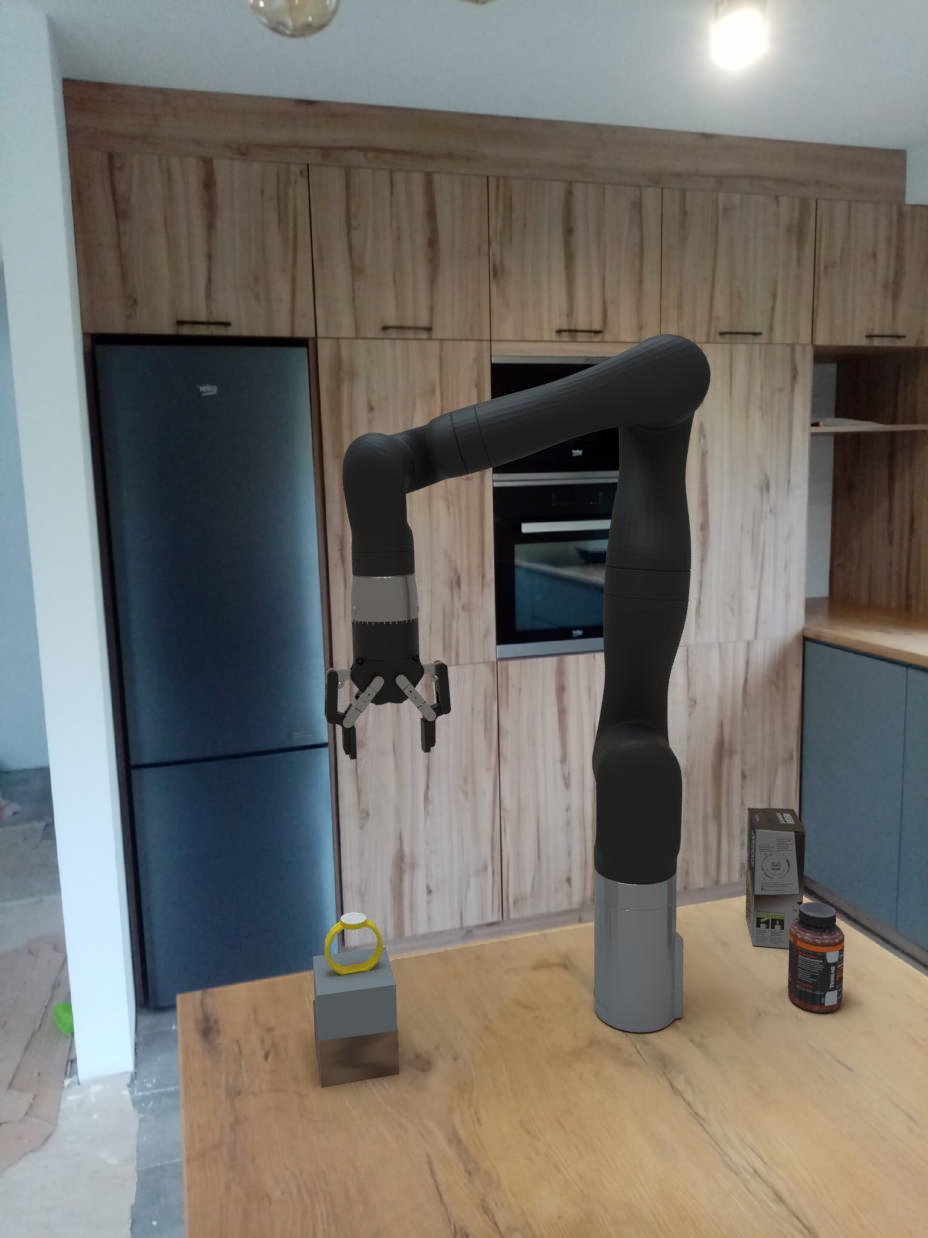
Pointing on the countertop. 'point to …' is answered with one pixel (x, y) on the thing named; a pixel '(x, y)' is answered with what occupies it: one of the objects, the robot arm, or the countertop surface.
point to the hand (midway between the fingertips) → (389, 754)
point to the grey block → (354, 996)
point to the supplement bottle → (816, 959)
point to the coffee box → (773, 874)
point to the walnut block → (356, 1057)
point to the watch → (353, 923)
